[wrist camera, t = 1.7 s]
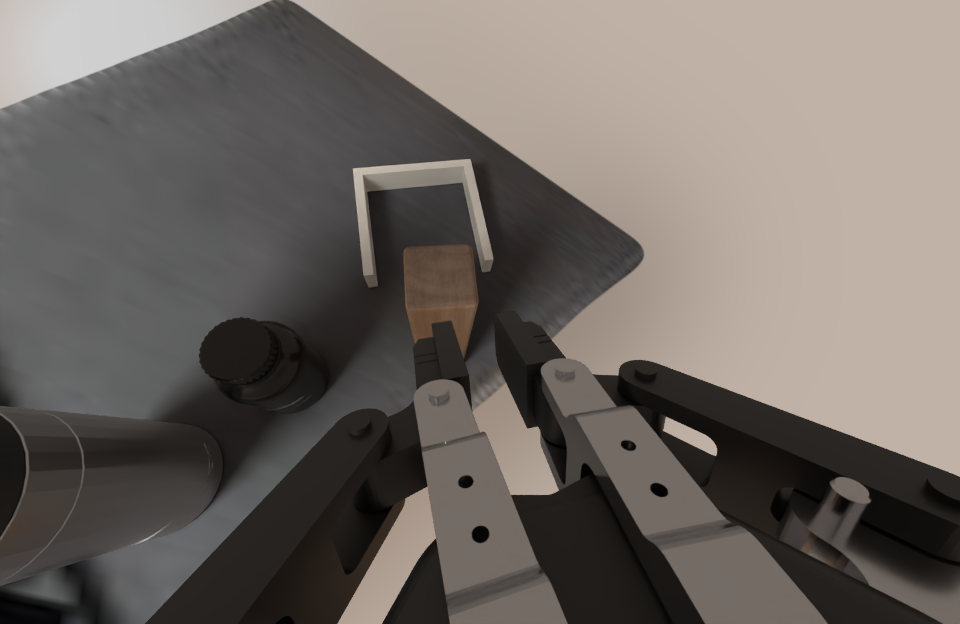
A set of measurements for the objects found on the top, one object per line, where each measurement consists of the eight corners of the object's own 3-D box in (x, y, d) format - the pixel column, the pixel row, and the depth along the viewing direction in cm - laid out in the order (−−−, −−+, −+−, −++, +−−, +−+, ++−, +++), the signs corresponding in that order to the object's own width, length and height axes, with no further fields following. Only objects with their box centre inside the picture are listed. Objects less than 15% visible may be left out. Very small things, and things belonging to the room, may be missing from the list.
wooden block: (416, 292, 42) (399, 186, 25) (456, 289, 42) (465, 184, 25) (420, 370, 39) (405, 310, 22) (463, 366, 39) (480, 305, 22)
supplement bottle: (297, 428, 36) (231, 419, 24) (244, 388, 36) (156, 361, 25) (345, 370, 38) (305, 337, 27) (294, 333, 39) (234, 286, 27)
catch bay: (368, 287, 41) (363, 275, 38) (358, 185, 46) (352, 168, 43) (490, 271, 43) (493, 259, 41) (468, 175, 48) (470, 158, 45)
